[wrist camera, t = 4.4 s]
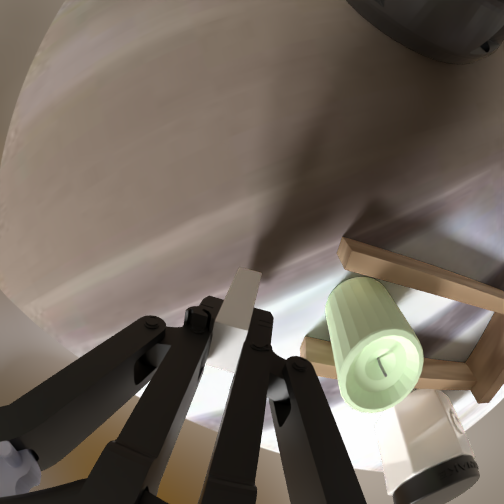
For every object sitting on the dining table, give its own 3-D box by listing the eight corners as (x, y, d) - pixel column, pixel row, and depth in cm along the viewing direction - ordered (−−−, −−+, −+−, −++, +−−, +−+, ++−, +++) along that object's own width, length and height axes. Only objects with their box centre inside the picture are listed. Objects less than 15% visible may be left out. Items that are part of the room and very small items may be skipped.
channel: (342, 236, 18) (360, 263, 13) (514, 295, 17) (542, 319, 12) (300, 347, 21) (301, 392, 16) (470, 372, 20) (488, 402, 16)
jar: (455, 399, 22) (489, 476, 10) (402, 439, 24) (420, 516, 13) (423, 372, 21) (466, 471, 10) (361, 419, 23) (375, 517, 12)
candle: (331, 272, 19) (354, 344, 11) (395, 278, 18) (444, 343, 11) (319, 332, 20) (329, 414, 13) (378, 335, 20) (409, 410, 12)
